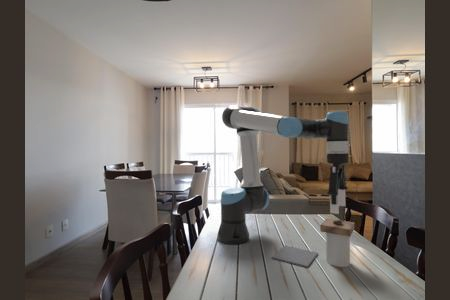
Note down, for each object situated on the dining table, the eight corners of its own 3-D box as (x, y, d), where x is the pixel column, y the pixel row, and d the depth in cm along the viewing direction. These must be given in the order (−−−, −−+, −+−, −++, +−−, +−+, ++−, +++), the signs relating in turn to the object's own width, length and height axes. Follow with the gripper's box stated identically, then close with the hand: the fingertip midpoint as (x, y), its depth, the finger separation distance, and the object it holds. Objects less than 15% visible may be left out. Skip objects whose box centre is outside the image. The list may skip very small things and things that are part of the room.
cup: (352, 267, 91) (352, 234, 91) (328, 265, 92) (328, 233, 92) (346, 258, 99) (346, 227, 99) (324, 256, 100) (324, 226, 100)
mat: (271, 258, 99) (271, 256, 99) (284, 246, 110) (284, 245, 110) (307, 267, 91) (307, 266, 91) (317, 254, 103) (317, 252, 103)
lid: (320, 231, 94) (320, 221, 94) (326, 224, 102) (326, 215, 102) (350, 236, 89) (350, 226, 88) (354, 229, 97) (354, 219, 97)
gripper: (342, 153, 83) (343, 218, 83) (353, 152, 103) (354, 204, 103) (318, 153, 87) (319, 215, 87) (333, 152, 108) (334, 202, 108)
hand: (338, 209), depth 95 cm, fingers open, 13 cm apart
